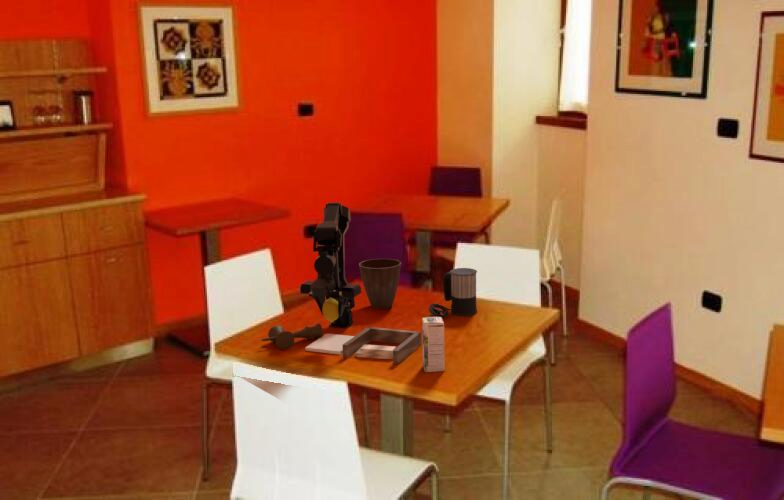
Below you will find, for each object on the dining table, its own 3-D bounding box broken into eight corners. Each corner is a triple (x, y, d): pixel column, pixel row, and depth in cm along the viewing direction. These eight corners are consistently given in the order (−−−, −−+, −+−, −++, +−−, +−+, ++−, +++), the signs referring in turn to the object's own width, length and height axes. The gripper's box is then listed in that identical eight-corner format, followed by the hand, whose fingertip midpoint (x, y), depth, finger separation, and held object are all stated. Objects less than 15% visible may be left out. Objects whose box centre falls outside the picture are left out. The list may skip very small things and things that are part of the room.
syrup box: (422, 365, 232) (420, 317, 229) (442, 364, 233) (441, 315, 230) (424, 372, 227) (423, 323, 224) (445, 371, 227) (444, 322, 224)
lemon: (338, 325, 248) (336, 300, 246) (321, 325, 249) (319, 300, 247) (343, 319, 253) (341, 295, 251) (326, 319, 254) (324, 295, 253)
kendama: (327, 343, 256) (266, 353, 248) (316, 336, 265) (257, 345, 256) (326, 325, 255) (265, 334, 247) (315, 318, 264) (256, 327, 255)
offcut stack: (355, 357, 242) (354, 348, 241) (359, 353, 246) (359, 344, 245) (393, 360, 238) (393, 351, 238) (397, 356, 242) (397, 346, 242)
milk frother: (482, 310, 282) (481, 269, 279) (461, 323, 270) (460, 280, 266) (446, 305, 290) (445, 265, 287) (424, 317, 277) (422, 275, 274)
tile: (305, 350, 249) (305, 347, 249) (327, 336, 261) (327, 333, 261) (340, 354, 244) (340, 351, 244) (360, 340, 257) (360, 337, 256)
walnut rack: (343, 357, 242) (342, 344, 241) (368, 338, 258) (368, 326, 257) (398, 364, 234) (397, 351, 233) (421, 344, 250) (421, 331, 249)
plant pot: (359, 301, 299) (357, 259, 295) (399, 299, 300) (398, 257, 297) (362, 313, 284) (360, 269, 281) (404, 310, 286) (403, 266, 282)
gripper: (288, 271, 244) (292, 320, 247) (344, 275, 236) (346, 326, 240) (307, 262, 254) (310, 310, 257) (360, 266, 246) (363, 315, 250)
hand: (331, 315), depth 251 cm, fingers closed on lemon, 5 cm apart
